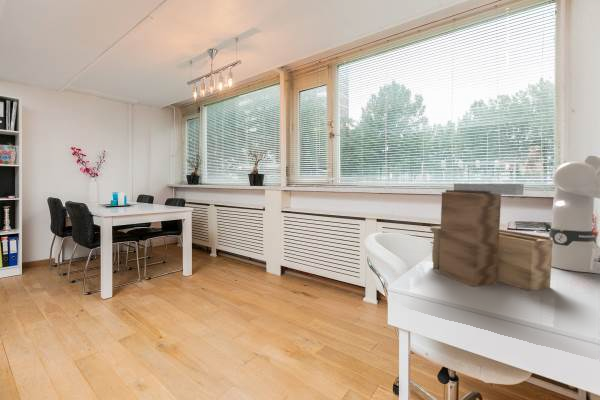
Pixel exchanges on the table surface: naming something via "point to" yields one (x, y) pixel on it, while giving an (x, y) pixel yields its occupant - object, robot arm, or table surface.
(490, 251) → the tall wood grain block
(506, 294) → the table surface
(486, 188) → the bar
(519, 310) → the table surface
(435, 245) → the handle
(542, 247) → the light wood grain block
